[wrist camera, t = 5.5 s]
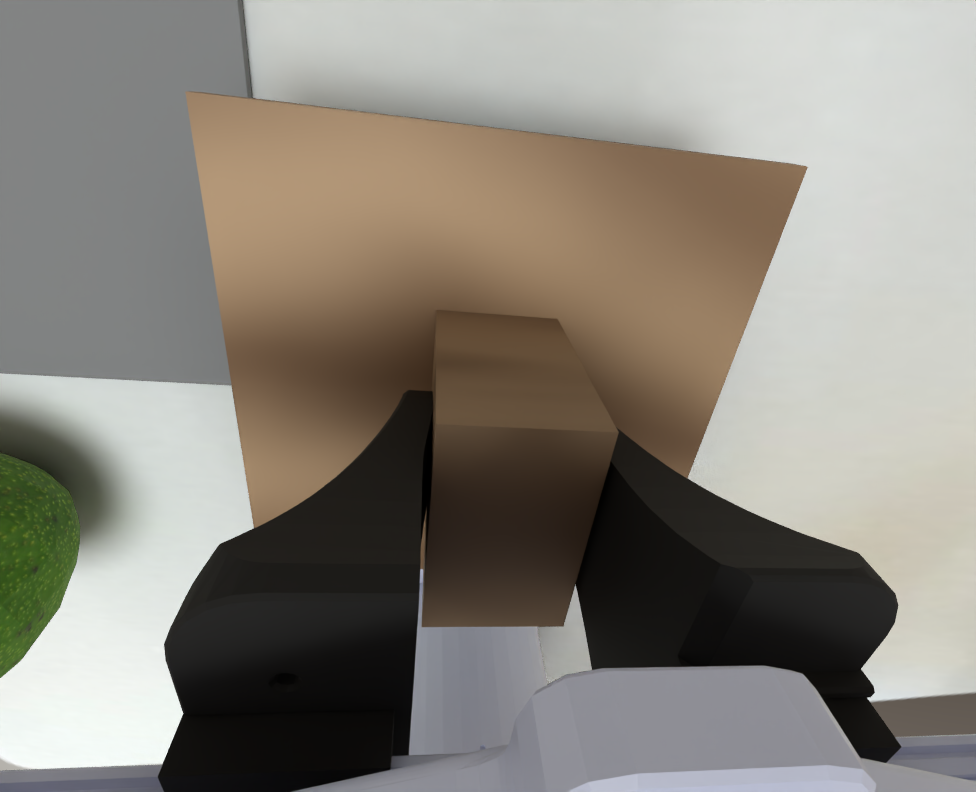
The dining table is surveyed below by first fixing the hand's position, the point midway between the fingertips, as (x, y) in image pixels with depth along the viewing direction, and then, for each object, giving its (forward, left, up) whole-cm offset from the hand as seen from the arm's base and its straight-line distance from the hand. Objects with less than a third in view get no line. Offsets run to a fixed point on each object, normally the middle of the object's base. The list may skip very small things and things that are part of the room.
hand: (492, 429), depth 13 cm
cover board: (0, 0, -2) cm, 2 cm away
